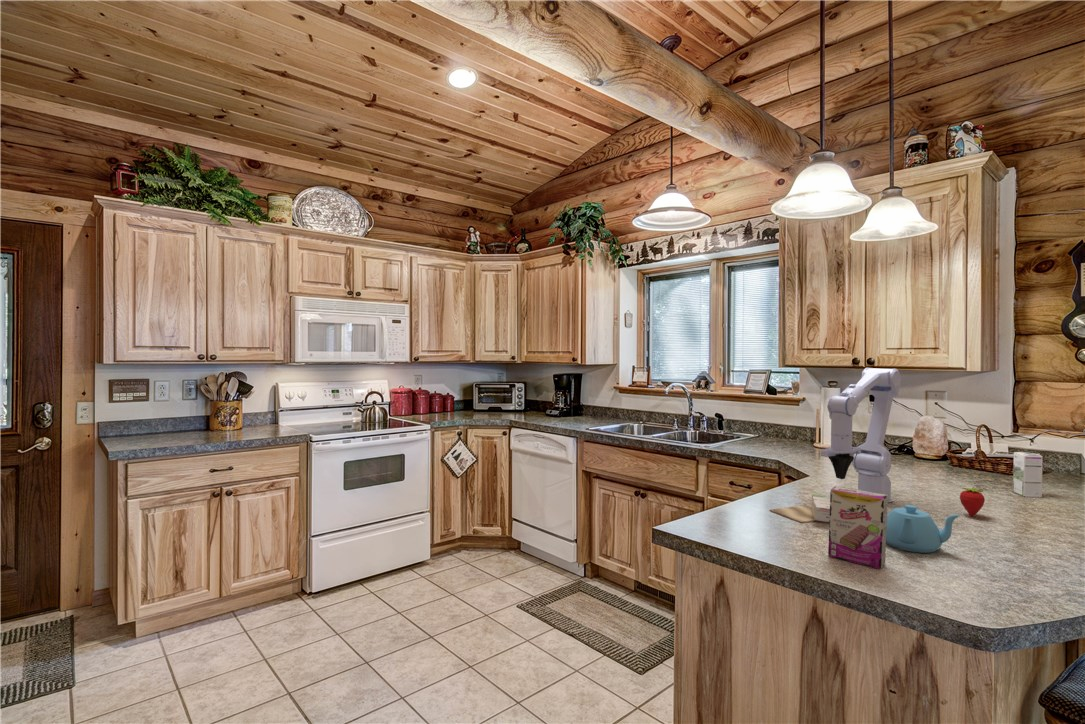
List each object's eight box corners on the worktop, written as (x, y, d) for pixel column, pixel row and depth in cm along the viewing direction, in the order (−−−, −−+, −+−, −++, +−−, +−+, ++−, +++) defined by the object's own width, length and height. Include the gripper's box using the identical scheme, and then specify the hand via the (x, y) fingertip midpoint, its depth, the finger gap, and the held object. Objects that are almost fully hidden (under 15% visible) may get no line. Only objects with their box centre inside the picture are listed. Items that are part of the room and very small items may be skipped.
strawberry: (957, 516, 160) (958, 483, 160) (960, 511, 165) (961, 479, 165) (982, 521, 156) (983, 487, 155) (985, 515, 161) (986, 482, 161)
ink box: (811, 509, 164) (813, 523, 150) (811, 493, 164) (814, 505, 150) (843, 514, 160) (848, 528, 147) (844, 497, 160) (849, 510, 147)
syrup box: (1042, 497, 181) (1044, 455, 181) (1022, 496, 183) (1024, 454, 182) (1031, 493, 187) (1032, 452, 187) (1011, 492, 188) (1012, 451, 188)
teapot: (915, 535, 143) (916, 497, 143) (964, 557, 128) (965, 514, 128) (863, 536, 142) (864, 498, 142) (906, 558, 127) (907, 515, 127)
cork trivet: (804, 506, 168) (804, 505, 168) (837, 518, 157) (837, 516, 157) (769, 511, 164) (769, 509, 163) (801, 523, 152) (801, 521, 152)
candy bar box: (827, 557, 127) (829, 489, 127) (832, 551, 131) (834, 485, 131) (882, 570, 120) (884, 498, 120) (886, 564, 124) (888, 493, 123)
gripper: (847, 431, 171) (846, 473, 172) (813, 433, 166) (812, 477, 167) (867, 434, 165) (866, 478, 165) (832, 437, 160) (831, 482, 160)
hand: (840, 478), depth 166 cm, fingers closed
